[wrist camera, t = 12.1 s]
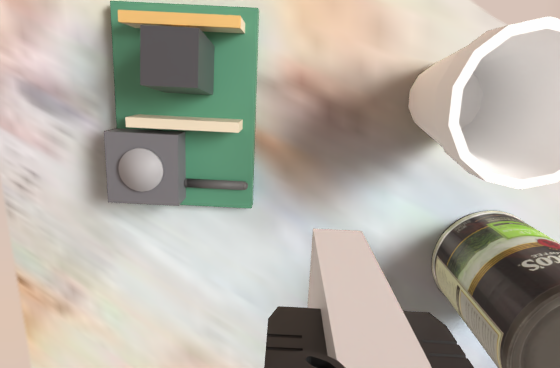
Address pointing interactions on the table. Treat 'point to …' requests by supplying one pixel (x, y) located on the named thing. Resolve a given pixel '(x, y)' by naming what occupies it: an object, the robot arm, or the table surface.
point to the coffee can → (503, 286)
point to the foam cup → (498, 104)
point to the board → (184, 113)
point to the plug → (176, 60)
